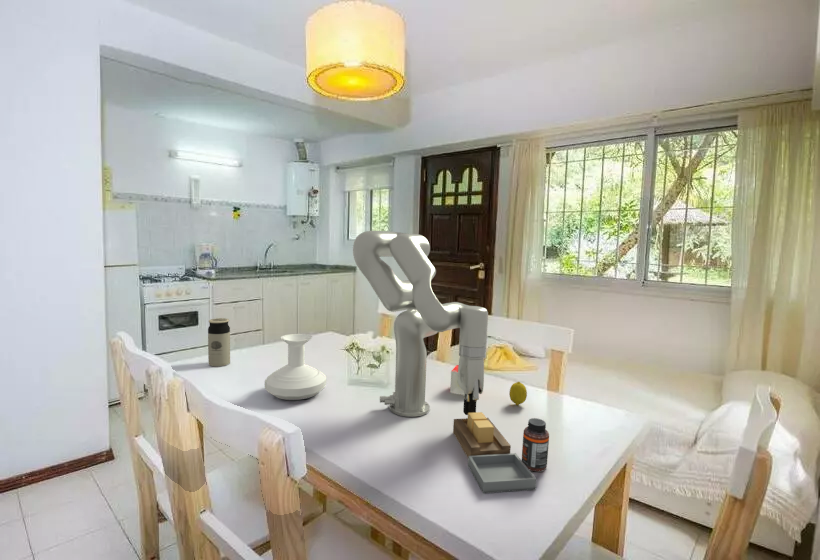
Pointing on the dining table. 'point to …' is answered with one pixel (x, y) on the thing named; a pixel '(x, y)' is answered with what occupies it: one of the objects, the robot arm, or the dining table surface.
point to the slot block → (473, 446)
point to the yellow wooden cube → (483, 431)
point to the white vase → (295, 373)
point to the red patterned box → (455, 382)
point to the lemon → (518, 393)
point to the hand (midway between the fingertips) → (469, 413)
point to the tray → (501, 473)
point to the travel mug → (218, 342)
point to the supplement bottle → (535, 445)
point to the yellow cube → (474, 419)
